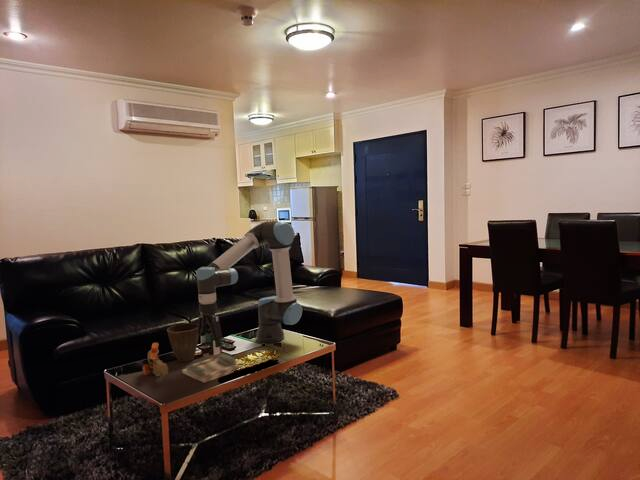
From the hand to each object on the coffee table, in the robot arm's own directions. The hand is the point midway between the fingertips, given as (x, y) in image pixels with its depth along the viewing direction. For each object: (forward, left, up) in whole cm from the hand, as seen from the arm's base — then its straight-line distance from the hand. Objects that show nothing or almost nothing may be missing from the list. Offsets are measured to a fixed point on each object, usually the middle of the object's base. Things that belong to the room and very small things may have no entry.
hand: (210, 351), depth 197 cm
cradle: (0, 0, -9) cm, 9 cm away
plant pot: (-1, -24, -9) cm, 26 cm away
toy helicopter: (+18, -14, -9) cm, 25 cm away
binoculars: (0, 0, -1) cm, 1 cm away
